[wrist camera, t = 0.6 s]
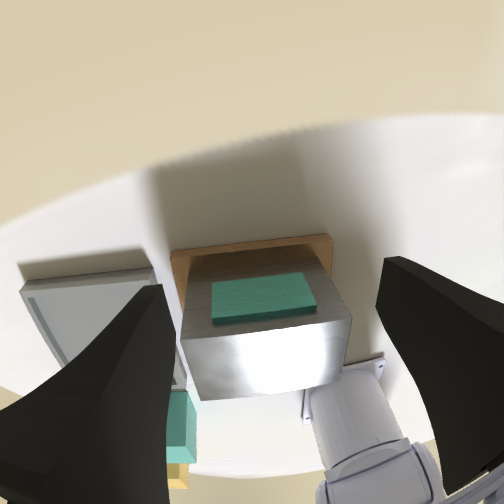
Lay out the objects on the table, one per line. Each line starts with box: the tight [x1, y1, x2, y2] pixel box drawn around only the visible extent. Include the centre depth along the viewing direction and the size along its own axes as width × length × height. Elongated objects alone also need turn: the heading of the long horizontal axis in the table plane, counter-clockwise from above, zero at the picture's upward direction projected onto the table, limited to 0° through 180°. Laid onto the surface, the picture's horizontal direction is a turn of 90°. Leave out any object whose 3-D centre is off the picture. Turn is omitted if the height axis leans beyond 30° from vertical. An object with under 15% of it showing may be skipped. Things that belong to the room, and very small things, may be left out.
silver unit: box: [170, 234, 352, 401], centre depth 17 cm, size 7×10×7 cm
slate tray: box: [19, 267, 187, 389], centre depth 21 cm, size 11×11×2 cm
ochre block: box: [167, 463, 188, 489], centre depth 28 cm, size 4×4×6 cm
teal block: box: [166, 391, 196, 463], centre depth 24 cm, size 4×4×6 cm
